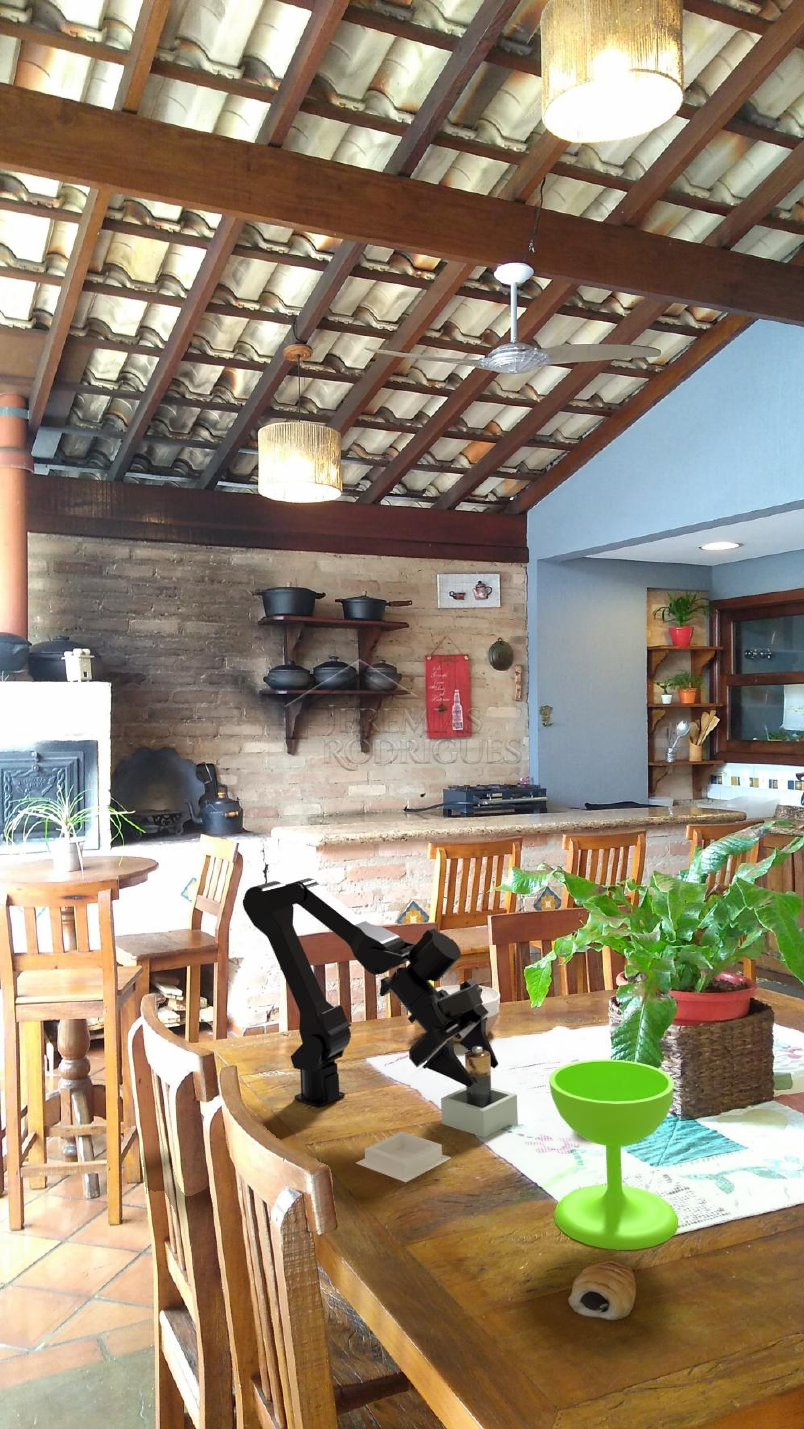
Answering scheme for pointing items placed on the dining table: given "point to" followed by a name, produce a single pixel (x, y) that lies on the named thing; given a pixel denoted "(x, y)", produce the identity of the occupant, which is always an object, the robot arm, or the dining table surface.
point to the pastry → (604, 1291)
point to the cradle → (403, 1156)
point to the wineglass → (614, 1150)
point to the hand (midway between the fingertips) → (484, 1075)
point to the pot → (479, 1112)
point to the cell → (478, 1077)
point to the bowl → (489, 1002)
